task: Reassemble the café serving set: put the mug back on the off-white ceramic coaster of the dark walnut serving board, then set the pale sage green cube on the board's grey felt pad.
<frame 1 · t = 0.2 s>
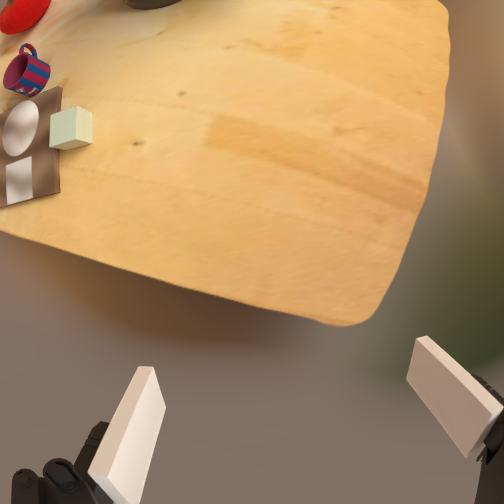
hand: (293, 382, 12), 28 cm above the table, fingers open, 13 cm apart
tomato: (35, 16, 27), on the table
mug: (39, 72, 31), on the table
board: (23, 150, 34), on the table
pale sage green cube: (79, 131, 34), on the table
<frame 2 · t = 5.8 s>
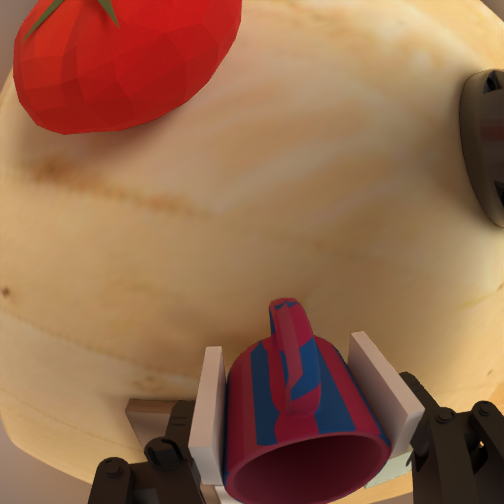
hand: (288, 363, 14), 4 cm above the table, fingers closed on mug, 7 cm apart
tomato: (150, 59, 14), on the table
mug: (287, 357, 14), point 4 cm above the table, touching gripper
board: (248, 461, 21), on the table
pale sage green cube: (376, 435, 22), on the table
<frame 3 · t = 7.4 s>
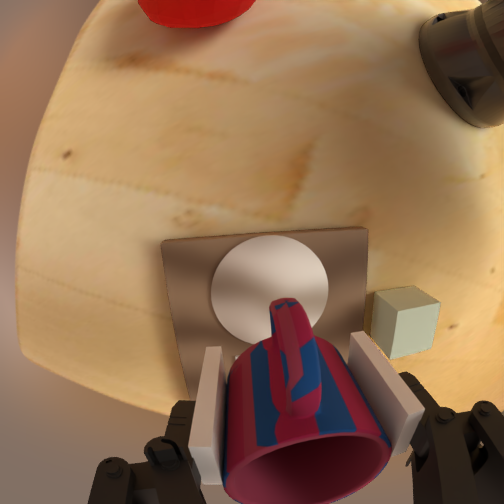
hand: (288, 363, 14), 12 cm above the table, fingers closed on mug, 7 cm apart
tomato: (208, 2, 19), on the table
mug: (287, 357, 14), point 11 cm above the table, touching gripper
board: (270, 327, 26), on the table
pale sage green cube: (392, 310, 27), on the table
when the fingers open (2 cm above the table, at t = 9.3 s): mug stays where it is, resting on board.
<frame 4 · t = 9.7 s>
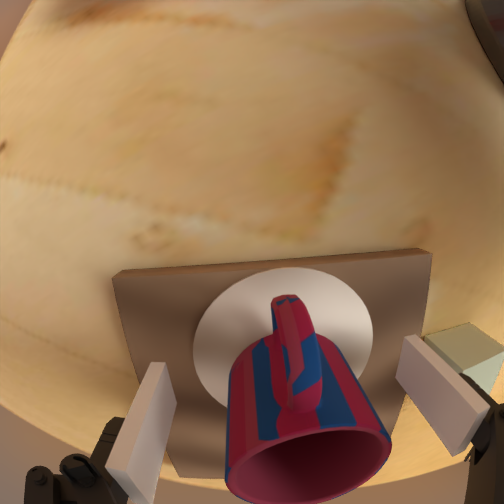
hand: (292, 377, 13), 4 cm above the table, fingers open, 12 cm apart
mug: (288, 354, 15), point 2 cm above the table, touching board
board: (283, 391, 17), on the table
pale sage green cube: (441, 355, 17), on the table
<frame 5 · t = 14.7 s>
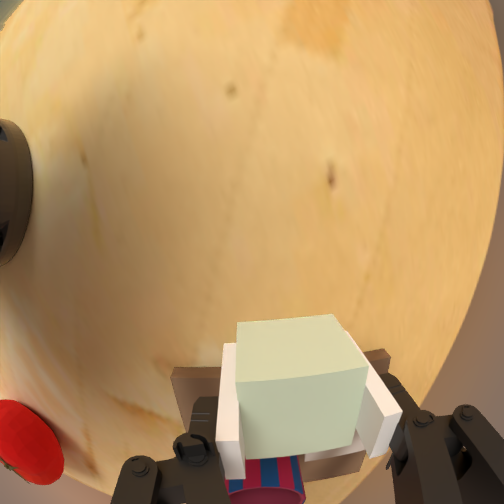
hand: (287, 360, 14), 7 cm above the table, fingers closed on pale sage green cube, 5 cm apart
tomato: (38, 423, 24), on the table
mug: (241, 445, 22), point 2 cm above the table, touching board
board: (283, 432, 23), on the table
pale sage green cube: (286, 358, 15), point 6 cm above the table, touching gripper
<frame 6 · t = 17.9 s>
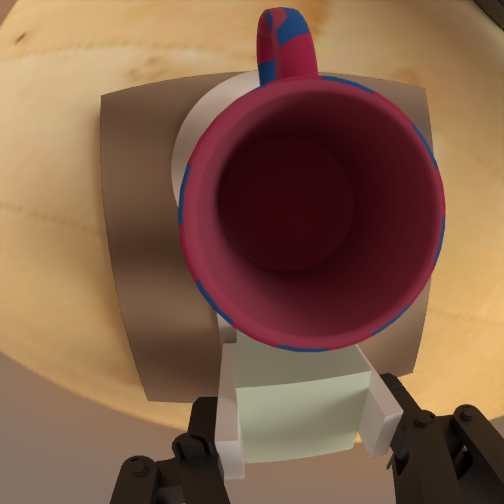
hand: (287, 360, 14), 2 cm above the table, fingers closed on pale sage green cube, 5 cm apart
mug: (284, 167, 12), point 2 cm above the table, touching board
board: (281, 247, 15), on the table
pale sage green cube: (287, 360, 14), point 2 cm above the table, touching board, gripper
when the fingers open (2 cm above the table, at t = 18.3 s): pale sage green cube stays where it is, resting on board.
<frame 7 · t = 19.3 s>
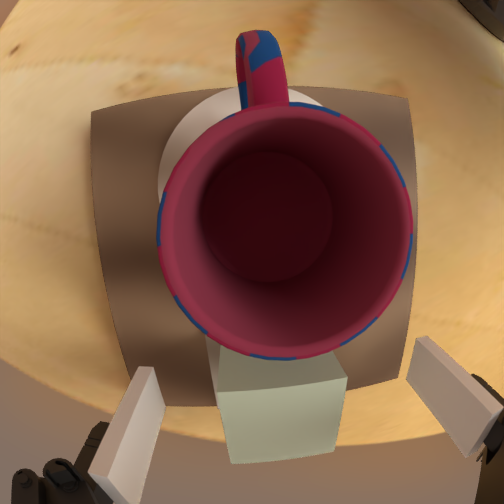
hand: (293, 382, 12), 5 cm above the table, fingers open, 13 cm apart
mug: (265, 181, 13), point 2 cm above the table, touching board
board: (264, 257, 16), on the table
pale sage green cube: (271, 366, 15), point 2 cm above the table, touching board
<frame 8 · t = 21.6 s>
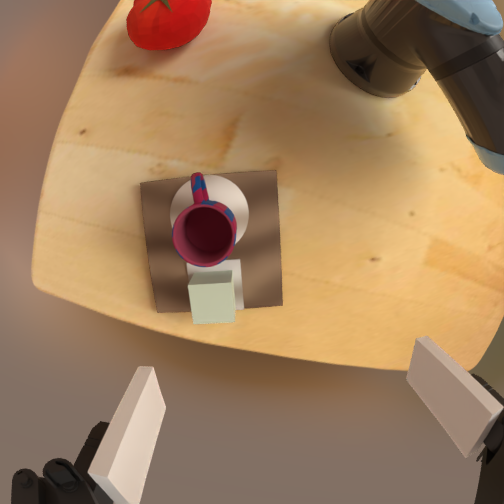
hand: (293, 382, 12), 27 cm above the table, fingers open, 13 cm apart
tomato: (175, 29, 31), on the table
mug: (209, 213, 35), point 2 cm above the table, touching board
board: (212, 243, 38), on the table
pale sage green cube: (215, 289, 37), point 2 cm above the table, touching board
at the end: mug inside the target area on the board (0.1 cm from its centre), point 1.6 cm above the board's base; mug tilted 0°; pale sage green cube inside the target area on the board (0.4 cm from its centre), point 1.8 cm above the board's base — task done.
